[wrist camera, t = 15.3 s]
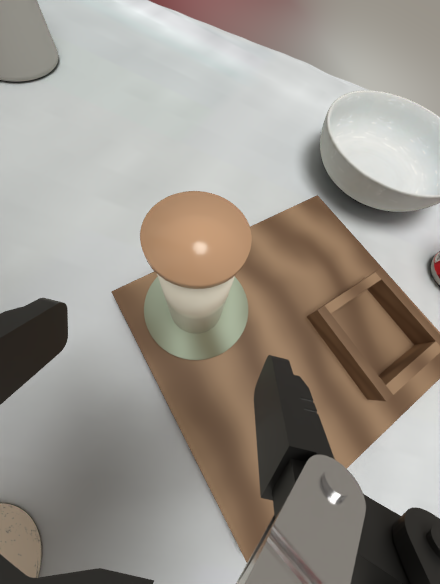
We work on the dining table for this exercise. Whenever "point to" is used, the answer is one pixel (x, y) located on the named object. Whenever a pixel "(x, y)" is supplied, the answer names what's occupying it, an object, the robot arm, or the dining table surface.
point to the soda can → (436, 267)
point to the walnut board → (287, 352)
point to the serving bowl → (383, 150)
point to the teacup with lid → (20, 540)
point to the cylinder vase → (24, 42)
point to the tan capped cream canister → (195, 254)
